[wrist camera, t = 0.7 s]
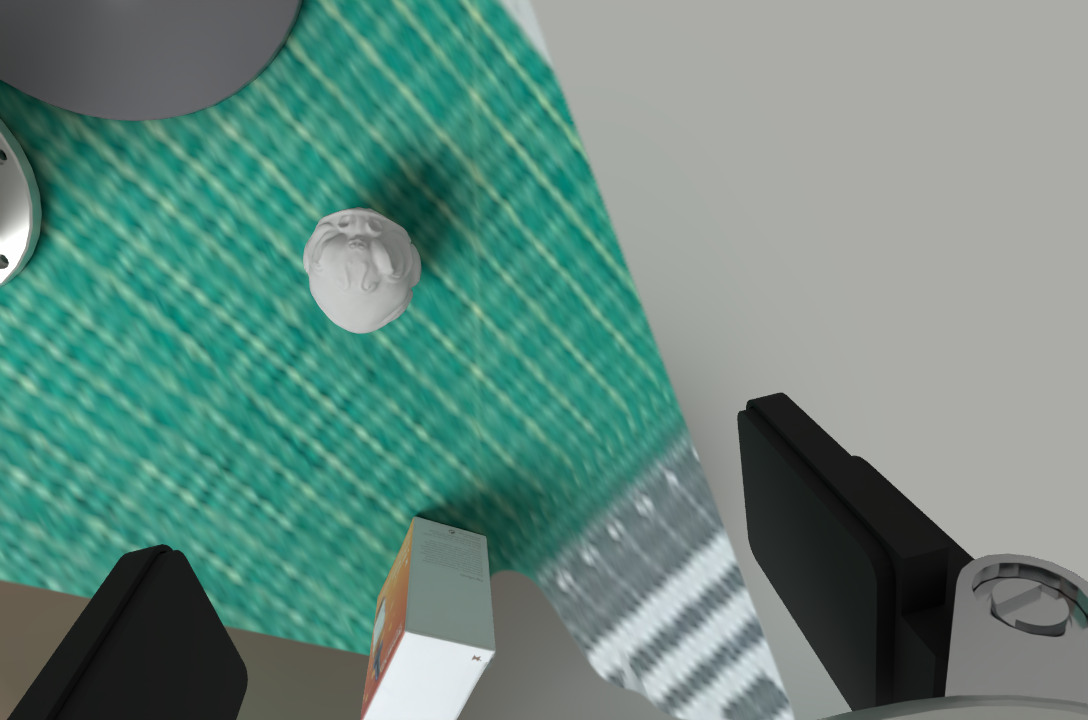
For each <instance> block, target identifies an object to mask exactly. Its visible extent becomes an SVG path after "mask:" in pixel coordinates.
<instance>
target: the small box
mask: <svg viewBox="0 0 1088 720" xmlns="http://www.w3.org/2000/svg"><path fill="white" fill-rule="evenodd" d="M494 653H495V638H494V626H493V613H492V600H491V586H490V574H489V561H488V550H487V539H486V536H483V535H480V534H476V533H472V532H469V531H465V530H462V529H459V528H455V527H451V526H448V525H444V524H440V523H437V522H433V521H430V520H426V519H423V518H419V517H414V518H413V520H412V523H411V525H410V528H409V530H408V533H407V535H406V537H405V540H404V542H403V544H402V547H401V549H400V551H399V553H398V555H397V557H396V559H395V562H394V564H393V566H392V568H391V570H390V572H389V574H388V577H387V579H386V581H385V583H384V585H383V588H382V590H381V592H380V594H379V596H378V601H377V609H376V616H375V623H374V630H373V636H372V643H371V651H370V658H369V665H368V671H367V678H366V684H365V692H364V698H363V705H362V712H361V720H456V719H457V718H458V716H459V714H460V712H461V710H462V708H463V706H464V705H465V703H466V701H467V699H468V697H469V696H470V694H471V692H472V690H473V688H474V686H475V685H476V683H477V681H478V679H479V677H480V676H481V674H482V672H483V671H484V669H485V667H486V665H487V664H488V663H489V661H490V659H491V658H492V656H493V655H494Z"/></svg>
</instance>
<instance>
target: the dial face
mask: <svg viewBox="0 0 1088 720" xmlns="http://www.w3.org/2000/svg"><path fill="white" fill-rule="evenodd" d="M302 2H303V0H0V80H2V81H4V82H6V83H8V84H9V85H11V86H13V87H15V88H16V89H18V90H20V91H22V92H24V93H26V94H28V95H30V96H32V97H35V98H37V99H39V100H42V101H44V102H46V103H49V104H51V105H53V106H57V107H60V108H63V109H66V110H70V111H73V112H76V113H79V114H84V115H89V116H94V117H100V118H105V119H114V120H130V121H140V120H155V119H166V118H173V117H177V116H182V115H187V114H192V113H195V112H198V111H201V110H204V109H206V108H209V107H212V106H215V105H217V104H219V103H221V102H222V101H224V100H226V99H228V98H230V97H232V96H233V95H235V94H237V93H238V92H240V91H241V90H242V89H243V88H245V87H246V86H247V85H249V84H250V83H251V82H253V81H254V80H255V79H256V78H257V77H258V76H259V75H260V74H261V73H262V72H263V71H264V70H265V69H266V68H267V67H268V66H269V64H270V63H271V62H272V61H273V60H274V58H275V57H276V55H277V54H278V52H279V51H280V50H281V48H282V47H283V45H284V44H285V42H286V40H287V38H288V36H289V34H290V32H291V30H292V28H293V26H294V24H295V22H296V20H297V17H298V14H299V11H300V8H301V5H302Z"/></svg>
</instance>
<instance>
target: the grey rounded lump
mask: <svg viewBox="0 0 1088 720" xmlns="http://www.w3.org/2000/svg"><path fill="white" fill-rule="evenodd" d="M303 263H304V268H305V270H306V272H307V273H308V274H309V282H310V290H311V293H312V295H313V297H314V299H315V300H316V302H317V304H318V305H319V307H320V308H321V309H322V310H323V311H324V312H325V314H326V315H327V316H328V317H329V319H331V320H332V321H333V322H334V323H336V324H337V325H338V326H340V327H342V328H344V329H346V330H348V331H350V332H353V333H358V334H359V333H368V332H372V331H375V330H377V329H379V328H381V327H383V326H385V325H386V324H387V323H388V322H391V321H393V320H394V319H396V318H398V317H399V316H400V315H401V314H402V313H403V312H404V311H405V309H406V308H407V306H408V304H409V302H410V301H411V299H412V297H413V291H412V289H411V288H412V287H413V286H415V285H416V284H417V283H418V282H419V280H420V275H421V261H420V256H419V253H418V251H417V249H416V247H415V246H414V245H413V244H412V243H411V239H410V237H409V236H408V233H407V231H406V230H405V229H404V228H403V227H401V226H400V225H398V224H396V223H395V222H393V221H391V220H389V219H388V218H387V217H385V216H383V215H381V214H379V213H378V212H376V211H374V210H372V209H369V208H367V209H363V208H361V207H356V208H353V209H345V210H341V211H338V212H335V213H332V214H330V215H327V216H325V217H323V218H322V219H320V221H319V222H318V224H317V226H316V229H315V231H314V233H313V234H312V236H311V238H310V239H309V240H308V242H307V244H306V246H305V249H304V255H303Z"/></svg>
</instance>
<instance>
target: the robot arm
mask: <svg viewBox="0 0 1088 720" xmlns="http://www.w3.org/2000/svg"><path fill="white" fill-rule="evenodd" d="M3 151H4V153H5V154H6V157H7V158H6V157H5V156H4V154H3ZM41 218H42V211H41V202H40V193H39V189H38V186H37V182H36V179H35V176H34V173H33V170H32V167H31V165H30V163H29V161H28V159H27V157H26V156H25V154H24V152H23V150H22V148H21V146H20V144H19V143H18V141H17V140H16V139H15V137H14V136H13V135H12V133H11V132H10V131H9V129H8V128H7V126H6V125H5V124H4V122H3V121H2V120H1V119H0V287H2V286H4V285H6V284H7V283H8V282H9V281H10V280H12V279H13V278H14V277H15V276H16V275H17V274H18V273H20V272H21V271H22V269H23V268H24V266H25V265H26V263H27V262H28V261H29V259H30V258H31V256H32V255H33V252H34V249H35V247H36V244H37V241H38V238H39V236H40V227H41ZM6 257H7V258H8V259H7V258H6ZM737 420H738V431H739V442H740V453H741V464H742V475H743V485H744V497H745V508H746V519H747V530H748V539H749V543H750V547H751V550H752V553H753V555H754V557H755V559H756V561H757V562H758V564H759V565H760V567H761V568H762V570H763V572H764V573H765V575H766V576H767V578H768V579H769V581H770V583H771V584H772V586H773V587H774V589H775V590H776V592H777V594H778V595H779V597H780V598H781V600H782V601H783V603H784V605H785V606H786V608H787V609H788V611H789V612H790V614H791V616H792V617H793V619H794V620H795V621H796V623H797V625H798V627H799V628H800V630H801V631H802V633H803V634H804V636H805V638H806V639H807V641H808V642H809V644H810V645H811V647H812V649H813V650H814V652H815V653H816V655H817V656H818V658H819V659H820V661H821V663H822V664H823V665H824V667H825V669H826V670H827V672H828V674H829V675H830V677H831V678H832V680H833V681H834V683H835V685H836V686H837V688H838V689H839V691H840V692H841V694H842V695H843V697H844V699H845V700H846V702H847V703H848V705H849V707H850V708H851V710H852V712H847V713H843V714H839V715H835V716H831V717H827V718H822V719H819V720H1088V582H1087V581H1085V580H1084V579H1083V578H1081V577H1080V576H1078V575H1077V574H1076V573H1074V572H1072V571H1070V570H1068V569H1066V568H1063V567H1061V566H1059V565H1057V564H1055V563H1052V562H1049V561H1045V560H1041V559H1038V558H1034V557H1031V556H1024V555H1015V554H999V555H987V556H984V557H981V558H978V559H973V558H972V557H971V556H970V555H969V554H968V553H967V552H966V551H965V550H964V549H962V548H961V547H960V546H959V545H958V544H957V543H956V542H955V541H954V540H953V539H952V538H950V537H949V536H948V535H947V534H946V533H945V532H944V531H942V529H940V528H939V527H938V526H937V525H936V524H935V523H934V522H933V521H932V520H930V518H928V517H927V516H926V515H925V514H924V513H923V512H922V511H921V510H920V509H919V508H917V507H916V506H915V505H914V504H913V503H912V502H911V501H910V500H909V499H908V498H906V497H905V496H904V495H903V494H902V493H901V492H900V491H899V490H898V489H897V488H896V487H894V486H893V485H892V484H891V483H890V482H889V481H888V480H887V479H886V478H884V476H882V475H881V474H880V473H879V472H878V471H877V470H876V469H875V468H874V467H873V466H871V465H870V464H869V463H868V462H867V461H865V460H864V459H863V458H861V457H859V456H851V455H850V454H849V453H848V452H847V451H846V450H845V449H844V448H842V447H841V446H840V445H839V444H838V443H837V442H836V441H835V440H834V439H833V438H832V437H831V436H829V435H828V434H827V433H826V432H825V431H824V430H823V429H822V428H821V427H820V426H819V425H818V424H817V423H816V422H815V421H814V420H812V419H811V418H810V417H809V416H808V415H807V414H806V413H805V412H804V411H803V410H802V409H801V408H799V406H797V405H796V404H795V403H794V402H793V401H792V400H791V399H790V398H789V397H788V396H787V395H785V394H784V393H776V394H772V395H768V396H764V397H760V398H756V399H752V400H749V401H748V402H747V405H746V410H744V411H739V413H738V419H737ZM247 681H248V678H247V670H246V667H245V664H244V662H243V660H242V659H241V657H240V655H239V653H238V651H237V649H236V648H235V646H234V644H233V642H232V640H231V638H230V637H229V635H228V633H227V631H226V630H225V628H224V626H223V624H222V622H221V620H220V618H219V617H218V615H217V613H216V611H215V609H214V607H213V606H212V604H211V602H210V600H209V598H208V597H207V595H206V593H205V591H204V589H203V587H202V586H201V584H200V582H199V580H198V578H197V577H196V575H195V573H194V571H193V569H192V567H191V566H190V564H189V562H188V560H187V558H186V557H185V555H184V554H183V553H182V552H181V551H179V550H174V551H173V550H172V548H170V547H169V546H168V545H163V544H161V545H157V546H153V547H149V548H145V549H141V550H137V551H133V552H129V553H126V554H124V555H123V556H122V557H121V558H120V559H119V561H118V562H117V563H116V565H115V566H114V568H113V569H112V571H111V572H110V573H109V575H108V576H107V578H106V579H105V581H104V582H103V583H102V585H101V586H100V588H99V589H98V591H97V592H96V593H95V595H94V596H93V598H92V599H91V601H90V602H89V604H88V605H87V606H86V608H85V609H84V611H83V612H82V613H81V615H80V616H79V618H78V619H77V621H76V622H75V623H74V625H73V626H72V628H71V629H70V631H69V632H68V633H67V635H66V636H65V638H64V639H63V641H62V642H61V643H60V645H59V646H58V648H57V649H56V651H55V652H54V654H53V655H52V656H51V658H50V659H49V661H48V662H47V663H46V665H45V666H44V668H43V669H42V670H41V672H40V674H39V675H38V676H37V678H36V679H35V680H34V682H33V683H32V685H31V686H30V688H29V689H28V690H27V692H26V693H25V695H24V696H23V698H22V699H21V700H20V702H19V703H18V705H17V706H16V708H15V709H14V711H13V712H12V713H11V715H10V716H9V718H8V719H7V720H236V718H237V716H238V713H239V710H240V707H241V704H242V701H243V698H244V695H245V692H246V689H247Z"/></svg>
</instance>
